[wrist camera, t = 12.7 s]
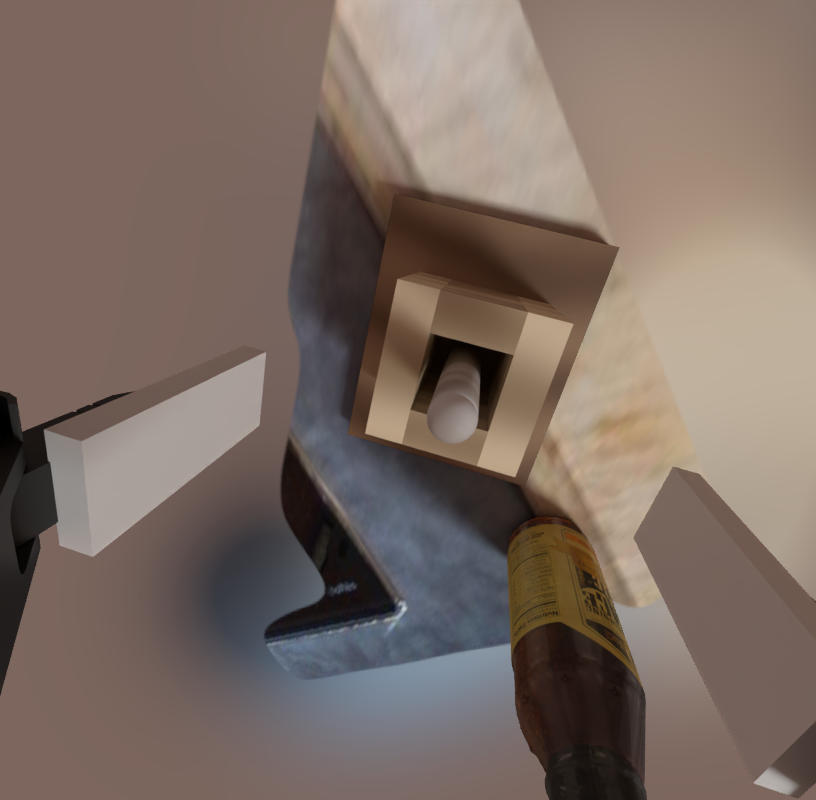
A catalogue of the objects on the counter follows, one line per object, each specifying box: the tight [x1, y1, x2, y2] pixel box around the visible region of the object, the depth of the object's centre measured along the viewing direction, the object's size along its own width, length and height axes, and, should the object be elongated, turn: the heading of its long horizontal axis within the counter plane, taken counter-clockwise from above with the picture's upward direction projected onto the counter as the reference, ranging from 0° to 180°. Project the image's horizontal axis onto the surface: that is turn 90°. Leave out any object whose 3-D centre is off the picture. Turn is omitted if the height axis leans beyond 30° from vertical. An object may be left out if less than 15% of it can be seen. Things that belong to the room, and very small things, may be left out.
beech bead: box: [365, 272, 573, 477], centre depth 23 cm, size 8×8×7 cm
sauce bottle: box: [507, 516, 647, 800], centre depth 22 cm, size 7×6×20 cm
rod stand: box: [348, 194, 619, 486], centre depth 21 cm, size 16×13×14 cm
